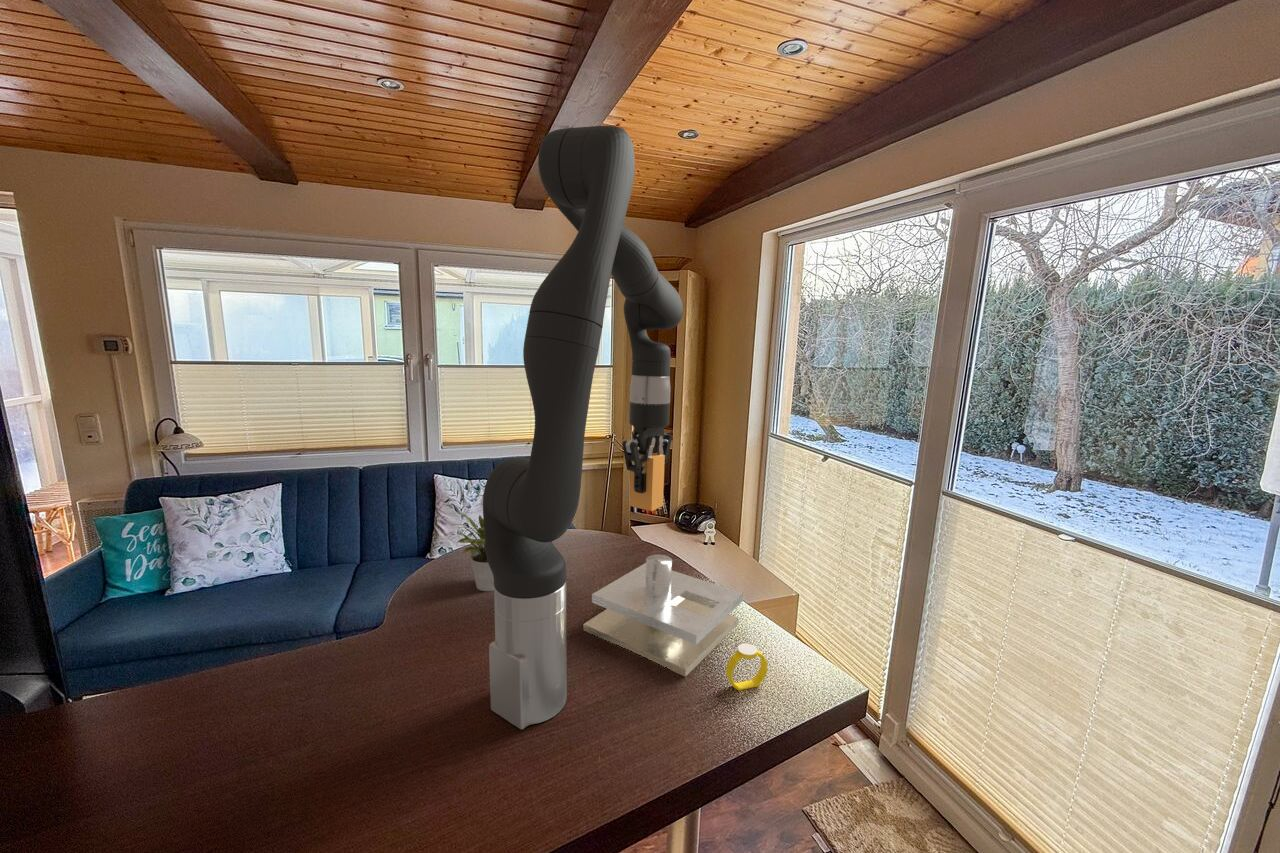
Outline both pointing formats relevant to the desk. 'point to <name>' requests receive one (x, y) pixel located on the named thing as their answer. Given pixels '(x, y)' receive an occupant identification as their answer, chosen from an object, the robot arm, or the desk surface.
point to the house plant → (478, 556)
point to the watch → (748, 653)
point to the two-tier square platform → (664, 614)
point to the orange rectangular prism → (650, 485)
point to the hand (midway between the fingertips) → (646, 489)
